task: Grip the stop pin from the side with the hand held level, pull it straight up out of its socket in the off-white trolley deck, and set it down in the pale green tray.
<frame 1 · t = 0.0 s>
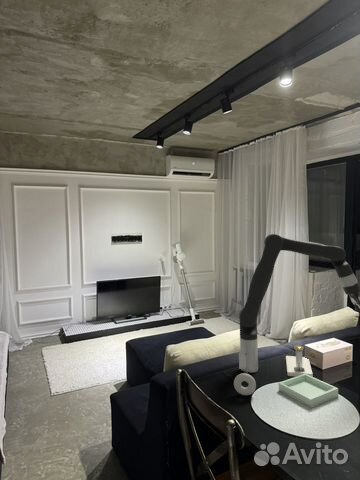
stop pin: (299, 373, 169), resting in trolley deck
donut: (245, 395, 149), on the table
tray: (307, 393, 149), on the table
trolley deck: (298, 367, 176), on the table
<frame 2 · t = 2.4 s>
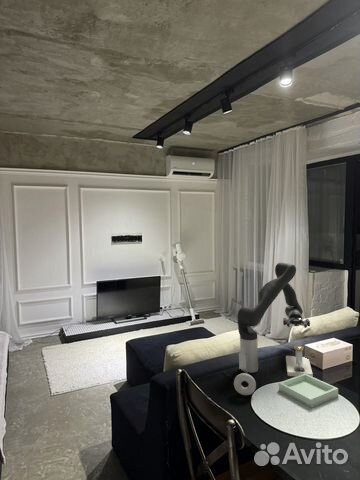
hand: (297, 325, 179), 22 cm above the table, tool horizontal, fingers open, 8 cm apart
nothing on the table moved.
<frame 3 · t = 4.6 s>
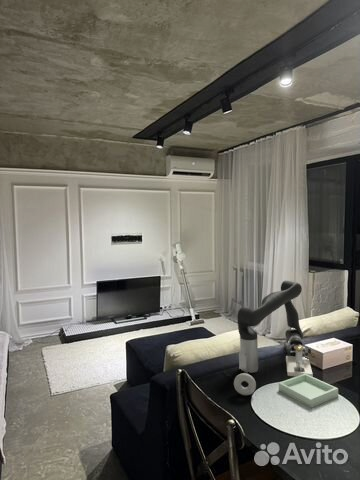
hand: (297, 353, 177), 7 cm above the table, tool horizontal, fingers open, 8 cm apart
nothing on the table moved.
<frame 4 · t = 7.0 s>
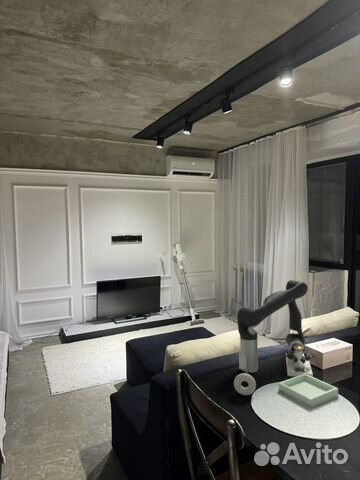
hand: (299, 361, 166), 8 cm above the table, tool horizontal, fingers closed on stop pin, 3 cm apart
stop pin: (299, 373, 169), resting in trolley deck, touching gripper
everything else where it was.
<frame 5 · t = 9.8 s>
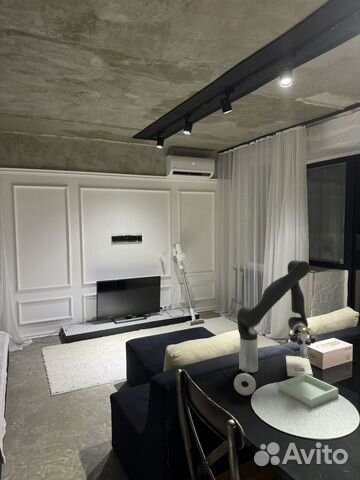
hand: (304, 343, 154), 21 cm above the table, tool horizontal, fingers closed on stop pin, 3 cm apart
stop pin: (304, 357, 157), point 13 cm above the table, touching gripper
everything else where it was.
when the fingers open (10 cm above the table, at t = 12.8 s): stop pin drops 1 cm, resting on tray.
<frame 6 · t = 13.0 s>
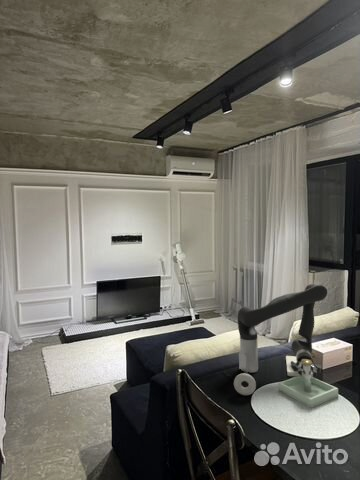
hand: (307, 373, 146), 10 cm above the table, tool horizontal, fingers open, 5 cm apart
stop pin: (307, 390, 149), point 1 cm above the table, touching tray
everything else where it was.
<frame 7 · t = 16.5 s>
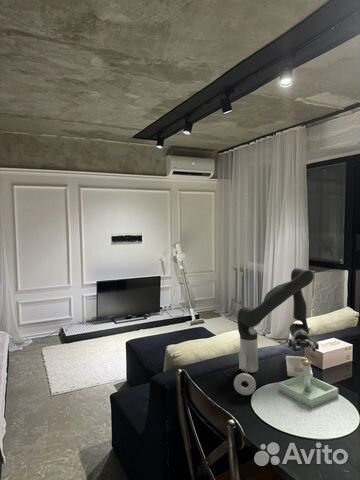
hand: (304, 349, 159), 16 cm above the table, tool horizontal, fingers open, 8 cm apart
nothing on the table moved.
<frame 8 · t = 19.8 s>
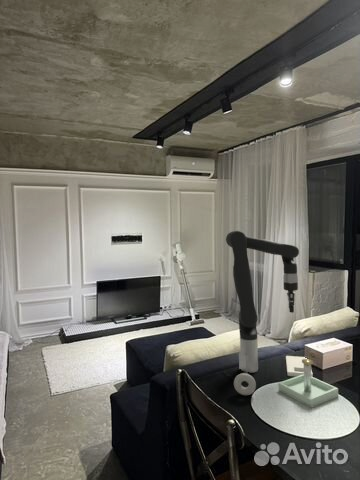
hand: (291, 310, 180), 30 cm above the table, tool pointing down, fingers open, 8 cm apart
nothing on the table moved.
at the end: stop pin inside the target area on the tray (0.1 cm from its centre), point 1.0 cm above the tray's base; the gripper is holding nothing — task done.
